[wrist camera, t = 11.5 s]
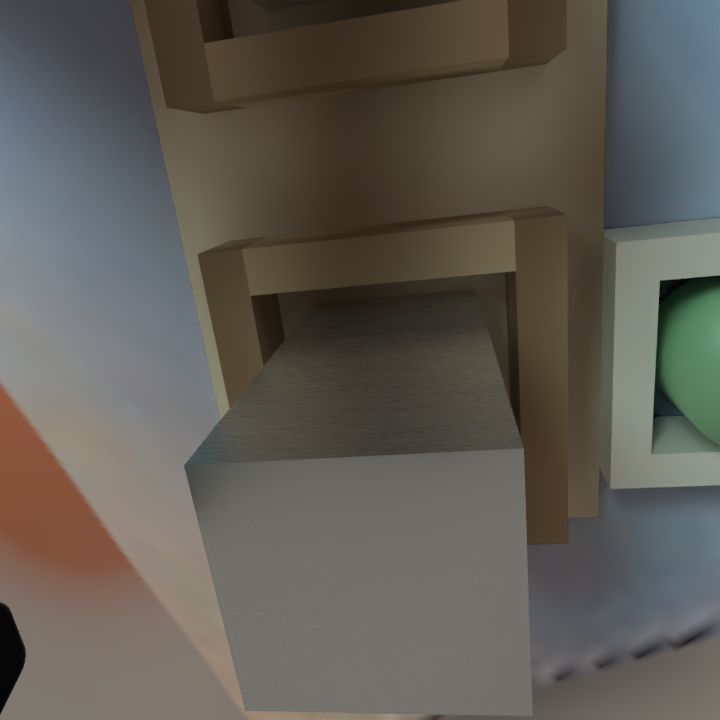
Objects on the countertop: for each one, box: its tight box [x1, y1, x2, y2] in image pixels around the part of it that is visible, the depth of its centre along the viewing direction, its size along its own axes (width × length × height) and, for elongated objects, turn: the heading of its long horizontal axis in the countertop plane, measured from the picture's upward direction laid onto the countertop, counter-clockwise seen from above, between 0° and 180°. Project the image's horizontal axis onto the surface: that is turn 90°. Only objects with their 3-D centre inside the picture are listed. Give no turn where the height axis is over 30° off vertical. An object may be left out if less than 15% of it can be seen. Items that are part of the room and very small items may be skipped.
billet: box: [184, 289, 533, 716], centre depth 11 cm, size 4×4×8 cm
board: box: [129, 0, 608, 544], centre depth 13 cm, size 10×19×3 cm, turn 7°
